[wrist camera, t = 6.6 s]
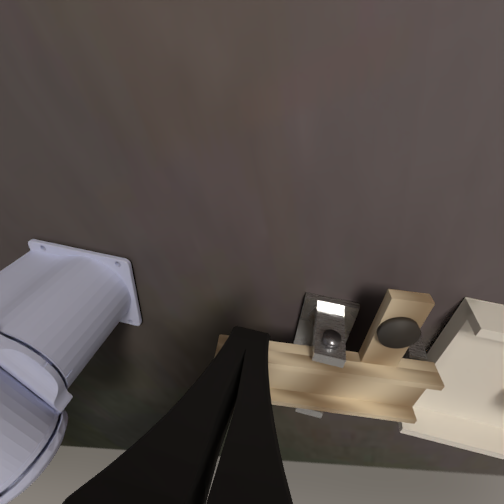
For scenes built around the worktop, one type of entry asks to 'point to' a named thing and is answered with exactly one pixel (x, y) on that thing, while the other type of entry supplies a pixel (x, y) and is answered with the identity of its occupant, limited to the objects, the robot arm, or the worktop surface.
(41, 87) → the worktop surface
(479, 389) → the dish
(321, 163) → the worktop surface
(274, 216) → the worktop surface
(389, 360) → the lever
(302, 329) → the pivot base
